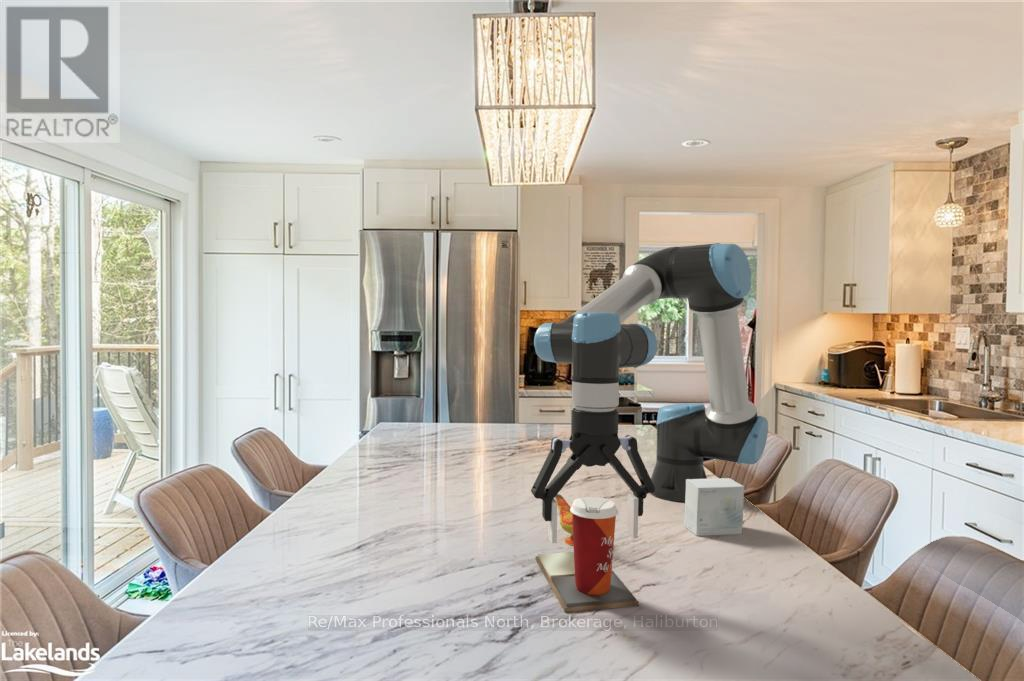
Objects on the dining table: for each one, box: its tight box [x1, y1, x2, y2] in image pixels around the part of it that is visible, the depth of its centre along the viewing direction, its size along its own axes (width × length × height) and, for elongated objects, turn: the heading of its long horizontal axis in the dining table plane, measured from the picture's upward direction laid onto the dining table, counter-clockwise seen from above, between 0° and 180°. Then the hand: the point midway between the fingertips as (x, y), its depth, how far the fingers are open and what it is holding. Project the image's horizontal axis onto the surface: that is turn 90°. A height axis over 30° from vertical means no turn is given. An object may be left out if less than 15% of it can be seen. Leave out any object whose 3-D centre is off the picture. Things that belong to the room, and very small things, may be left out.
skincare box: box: [683, 477, 745, 537], centre depth 127 cm, size 10×6×10 cm, turn 99°
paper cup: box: [570, 496, 619, 595], centre depth 97 cm, size 8×8×14 cm
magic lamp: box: [554, 493, 574, 547], centre depth 121 cm, size 7×18×11 cm, turn 20°
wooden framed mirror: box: [535, 551, 640, 613], centre depth 102 cm, size 12×20×1 cm, turn 11°
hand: (592, 537), depth 97 cm, fingers open, 13 cm apart
